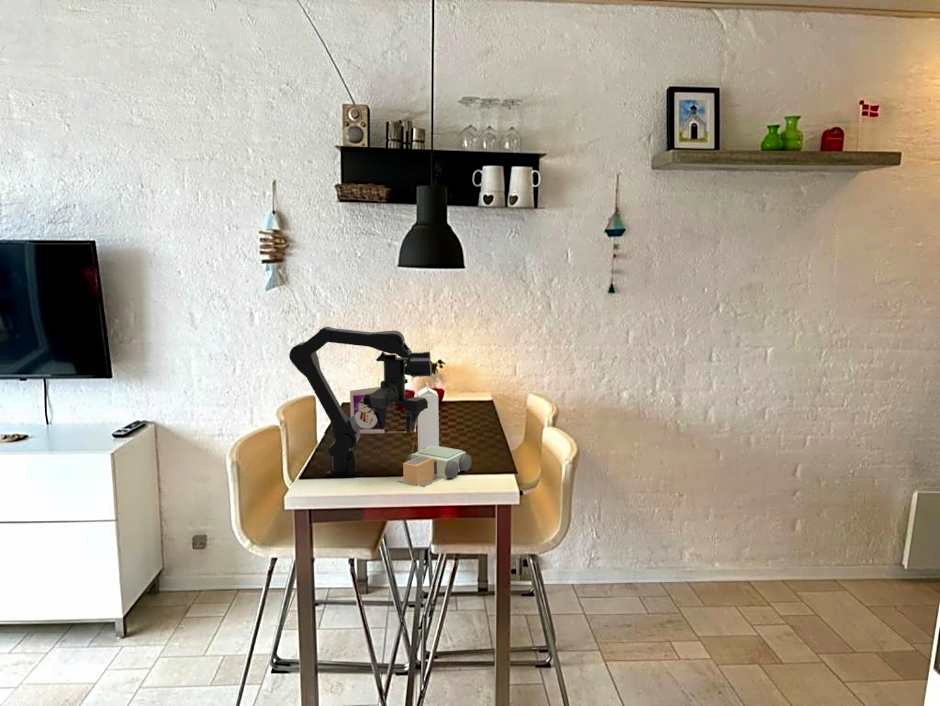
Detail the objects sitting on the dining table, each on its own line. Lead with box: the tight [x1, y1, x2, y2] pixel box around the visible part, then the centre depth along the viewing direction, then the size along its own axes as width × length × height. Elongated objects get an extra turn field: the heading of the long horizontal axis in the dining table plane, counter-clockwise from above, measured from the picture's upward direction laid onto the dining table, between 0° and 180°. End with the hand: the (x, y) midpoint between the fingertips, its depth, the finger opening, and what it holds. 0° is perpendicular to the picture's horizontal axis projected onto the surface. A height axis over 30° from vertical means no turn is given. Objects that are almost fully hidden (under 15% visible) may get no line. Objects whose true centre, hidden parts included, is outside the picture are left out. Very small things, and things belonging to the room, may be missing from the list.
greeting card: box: [349, 386, 385, 434], centre depth 233 cm, size 11×7×15 cm, turn 90°
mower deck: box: [405, 445, 472, 479], centre depth 191 cm, size 15×12×5 cm
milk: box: [416, 381, 440, 452], centre depth 206 cm, size 6×6×22 cm
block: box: [402, 456, 434, 484], centre depth 183 cm, size 8×4×5 cm, turn 148°
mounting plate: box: [396, 475, 443, 488], centre depth 184 cm, size 9×8×1 cm
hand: (395, 431), depth 187 cm, fingers open, 9 cm apart
